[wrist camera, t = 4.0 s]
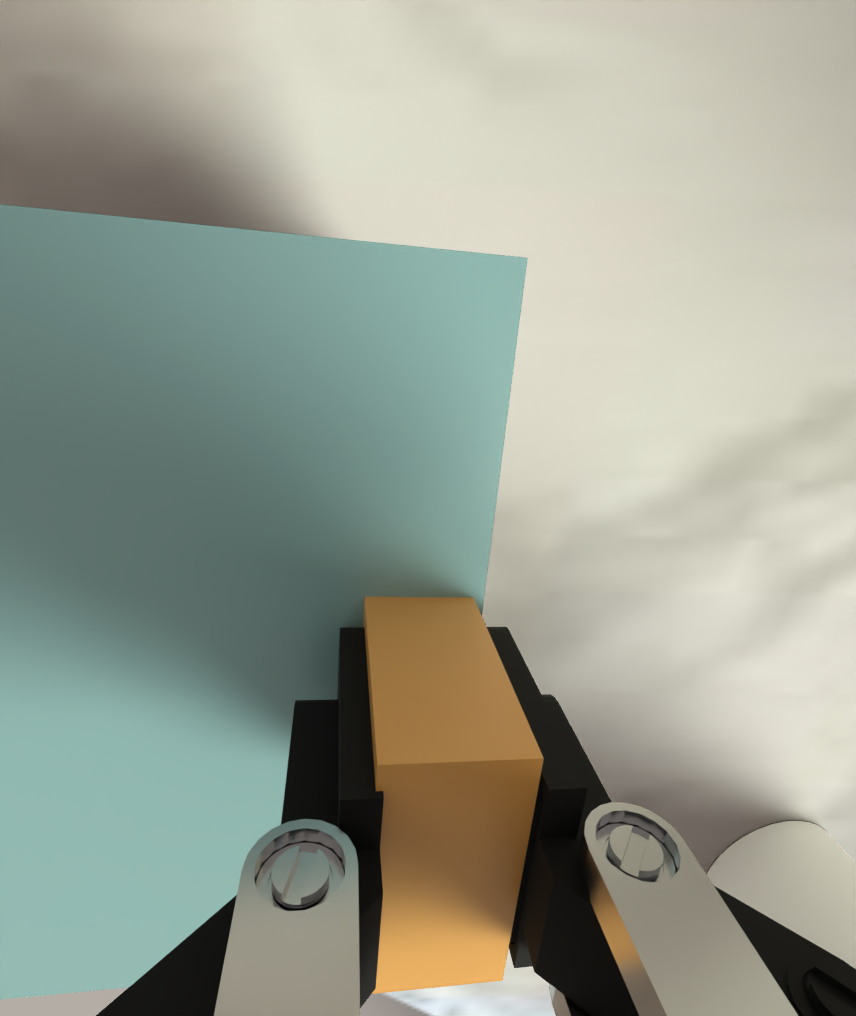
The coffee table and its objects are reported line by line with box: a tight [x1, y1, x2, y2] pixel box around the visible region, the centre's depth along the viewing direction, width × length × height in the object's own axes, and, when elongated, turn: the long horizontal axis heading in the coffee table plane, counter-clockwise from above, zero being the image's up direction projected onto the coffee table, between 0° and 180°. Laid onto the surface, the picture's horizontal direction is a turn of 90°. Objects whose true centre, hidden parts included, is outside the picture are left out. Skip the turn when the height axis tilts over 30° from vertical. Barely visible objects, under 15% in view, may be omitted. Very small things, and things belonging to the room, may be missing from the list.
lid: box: [0, 204, 544, 999], centre depth 9 cm, size 12×16×6 cm
